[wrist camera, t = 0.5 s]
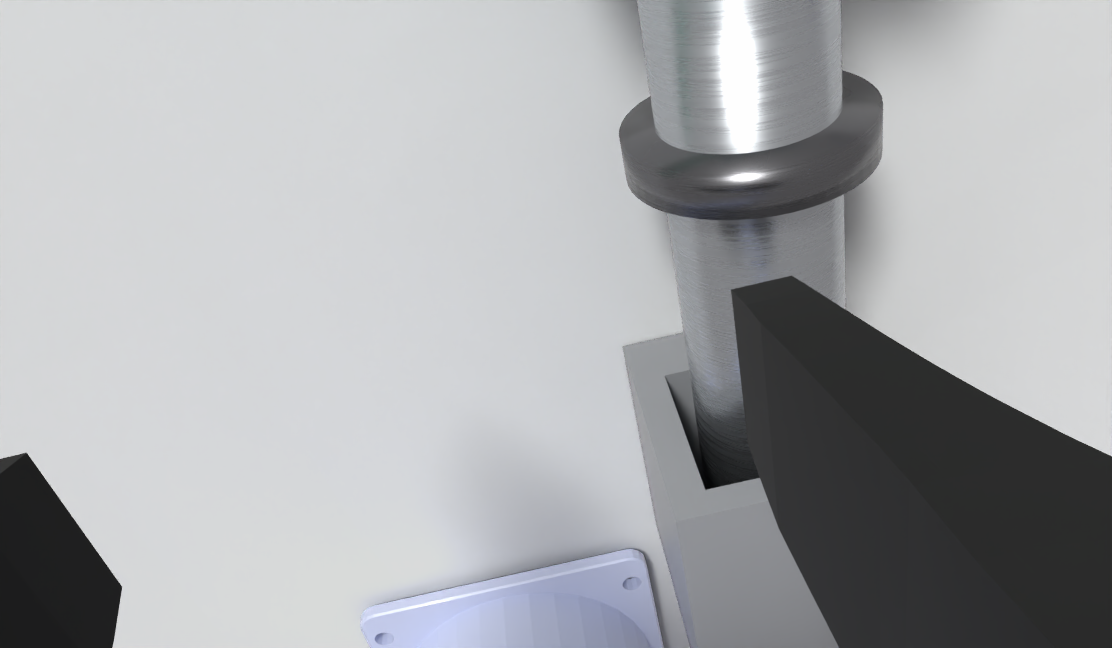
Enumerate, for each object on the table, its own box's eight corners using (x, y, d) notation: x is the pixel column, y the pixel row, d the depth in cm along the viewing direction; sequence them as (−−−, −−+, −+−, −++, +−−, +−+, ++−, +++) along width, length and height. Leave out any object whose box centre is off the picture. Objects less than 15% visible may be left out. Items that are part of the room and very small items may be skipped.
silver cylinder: (836, 487, 23) (909, 624, 19) (675, 523, 23) (718, 666, 19) (819, -174, 14) (943, -145, 11) (564, -114, 14) (605, -65, 11)
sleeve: (836, 484, 24) (932, 662, 20) (656, 524, 24) (708, 711, 20) (832, 299, 21) (946, 460, 16) (622, 346, 21) (675, 521, 16)
